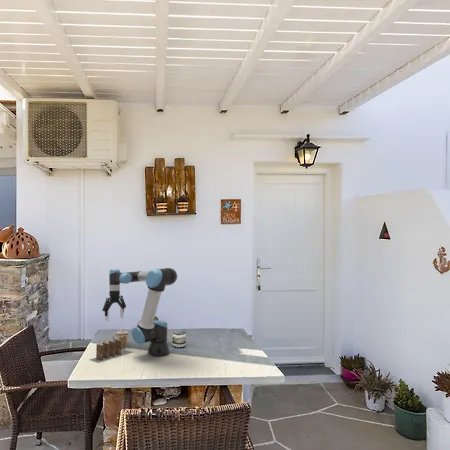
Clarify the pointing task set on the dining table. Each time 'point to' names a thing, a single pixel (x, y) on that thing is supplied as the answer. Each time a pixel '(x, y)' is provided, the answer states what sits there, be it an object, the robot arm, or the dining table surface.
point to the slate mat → (123, 352)
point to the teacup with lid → (120, 333)
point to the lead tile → (123, 341)
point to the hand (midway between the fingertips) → (114, 318)
